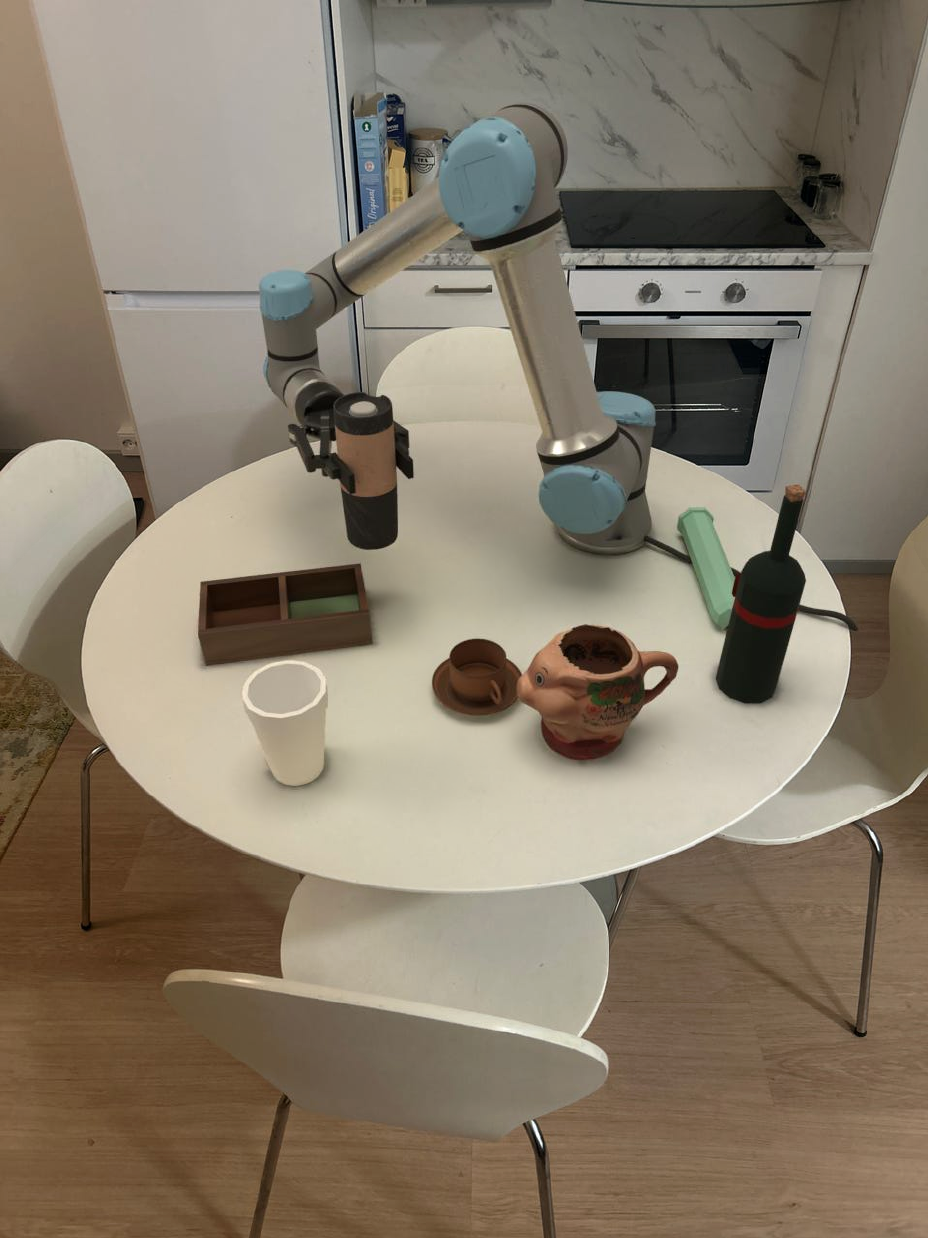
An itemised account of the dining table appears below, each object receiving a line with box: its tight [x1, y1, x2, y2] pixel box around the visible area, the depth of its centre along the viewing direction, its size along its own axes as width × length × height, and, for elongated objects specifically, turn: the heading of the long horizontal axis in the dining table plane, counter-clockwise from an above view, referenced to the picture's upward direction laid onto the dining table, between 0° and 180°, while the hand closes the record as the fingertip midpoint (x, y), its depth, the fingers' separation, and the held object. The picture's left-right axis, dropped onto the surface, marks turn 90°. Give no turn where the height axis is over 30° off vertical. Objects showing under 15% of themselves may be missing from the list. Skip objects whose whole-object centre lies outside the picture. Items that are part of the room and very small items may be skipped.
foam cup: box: [241, 659, 329, 787], centre depth 107 cm, size 10×9×13 cm
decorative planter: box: [517, 623, 679, 761], centre depth 111 cm, size 20×12×14 cm, turn 107°
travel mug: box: [333, 391, 399, 551], centre depth 122 cm, size 8×8×20 cm
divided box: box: [197, 563, 373, 666], centre depth 130 cm, size 12×23×6 cm, turn 101°
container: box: [676, 506, 735, 630], centre depth 138 cm, size 6×6×25 cm
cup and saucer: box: [431, 638, 523, 717], centre depth 119 cm, size 12×12×6 cm
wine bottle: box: [715, 483, 807, 704], centre depth 114 cm, size 8×10×30 cm
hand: (381, 476), depth 117 cm, fingers closed on travel mug, 7 cm apart
